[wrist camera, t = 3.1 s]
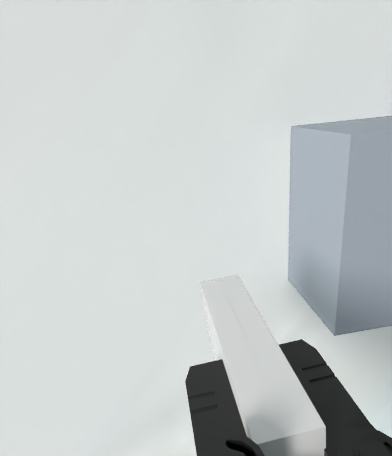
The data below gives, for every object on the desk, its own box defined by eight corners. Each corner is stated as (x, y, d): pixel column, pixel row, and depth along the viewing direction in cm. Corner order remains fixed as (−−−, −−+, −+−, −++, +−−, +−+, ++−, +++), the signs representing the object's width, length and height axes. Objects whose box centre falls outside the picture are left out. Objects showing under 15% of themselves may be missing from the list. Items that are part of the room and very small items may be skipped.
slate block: (289, 126, 19) (351, 134, 13) (416, 112, 20) (524, 115, 14) (286, 278, 22) (334, 335, 17) (394, 261, 23) (473, 310, 18)
